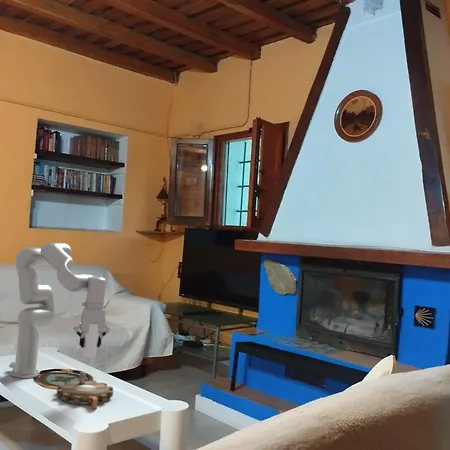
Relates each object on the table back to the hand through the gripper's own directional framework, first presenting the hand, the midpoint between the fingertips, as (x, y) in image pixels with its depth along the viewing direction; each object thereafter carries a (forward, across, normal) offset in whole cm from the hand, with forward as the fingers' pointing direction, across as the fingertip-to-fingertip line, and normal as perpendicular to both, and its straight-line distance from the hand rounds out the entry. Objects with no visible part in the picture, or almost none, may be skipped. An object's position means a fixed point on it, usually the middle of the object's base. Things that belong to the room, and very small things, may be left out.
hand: (90, 346), depth 226 cm
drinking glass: (+5, 0, 0) cm, 5 cm away
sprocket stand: (+22, 0, 0) cm, 22 cm away
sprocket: (+20, 0, 0) cm, 20 cm away
